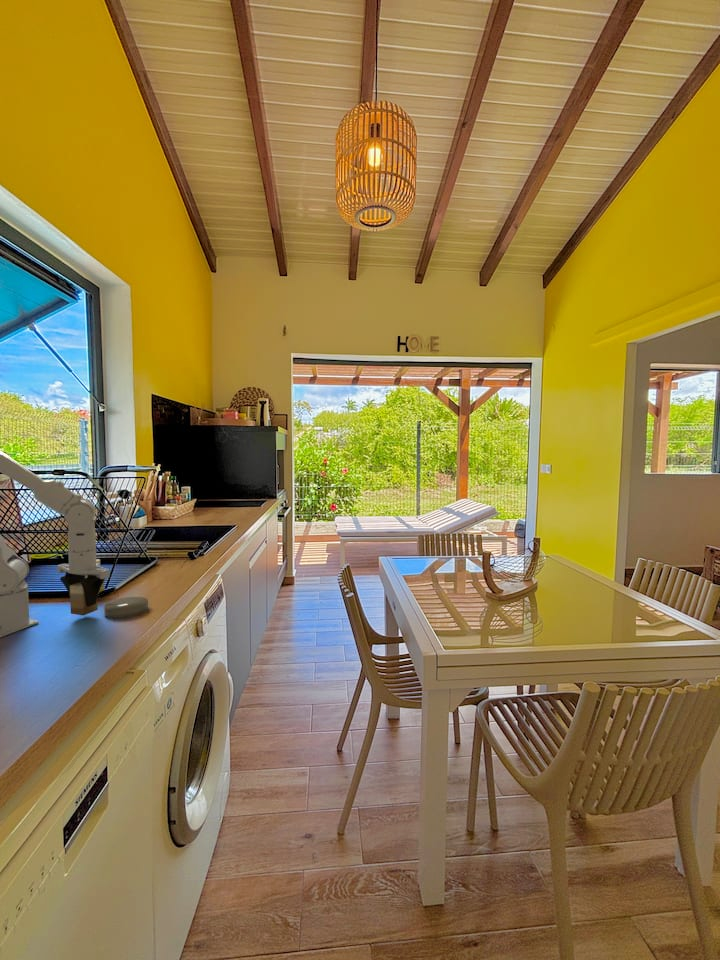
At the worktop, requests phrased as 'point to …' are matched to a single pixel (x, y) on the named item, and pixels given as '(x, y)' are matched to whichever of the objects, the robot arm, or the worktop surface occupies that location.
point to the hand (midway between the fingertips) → (84, 603)
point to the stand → (126, 607)
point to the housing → (80, 601)
